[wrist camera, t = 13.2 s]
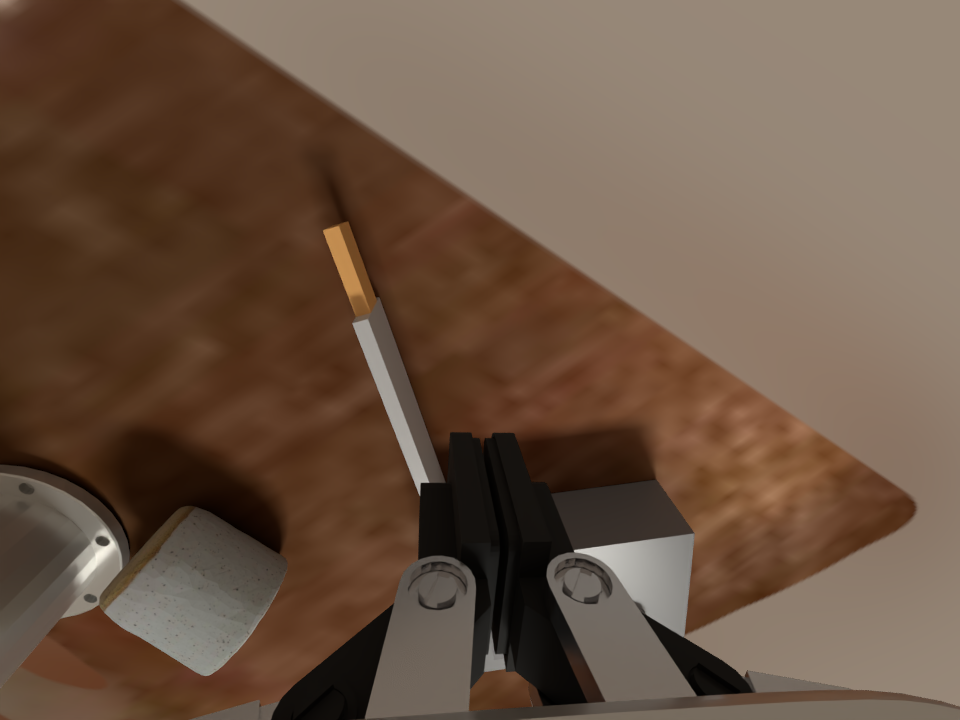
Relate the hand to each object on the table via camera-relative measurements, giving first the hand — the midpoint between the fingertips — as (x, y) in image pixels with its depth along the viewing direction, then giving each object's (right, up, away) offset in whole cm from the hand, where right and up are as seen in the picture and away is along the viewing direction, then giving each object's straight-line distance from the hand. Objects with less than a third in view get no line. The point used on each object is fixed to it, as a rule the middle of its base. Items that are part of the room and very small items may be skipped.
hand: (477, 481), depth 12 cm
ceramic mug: (-19, -11, +21) cm, 31 cm away
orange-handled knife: (-5, +2, +17) cm, 18 cm away
